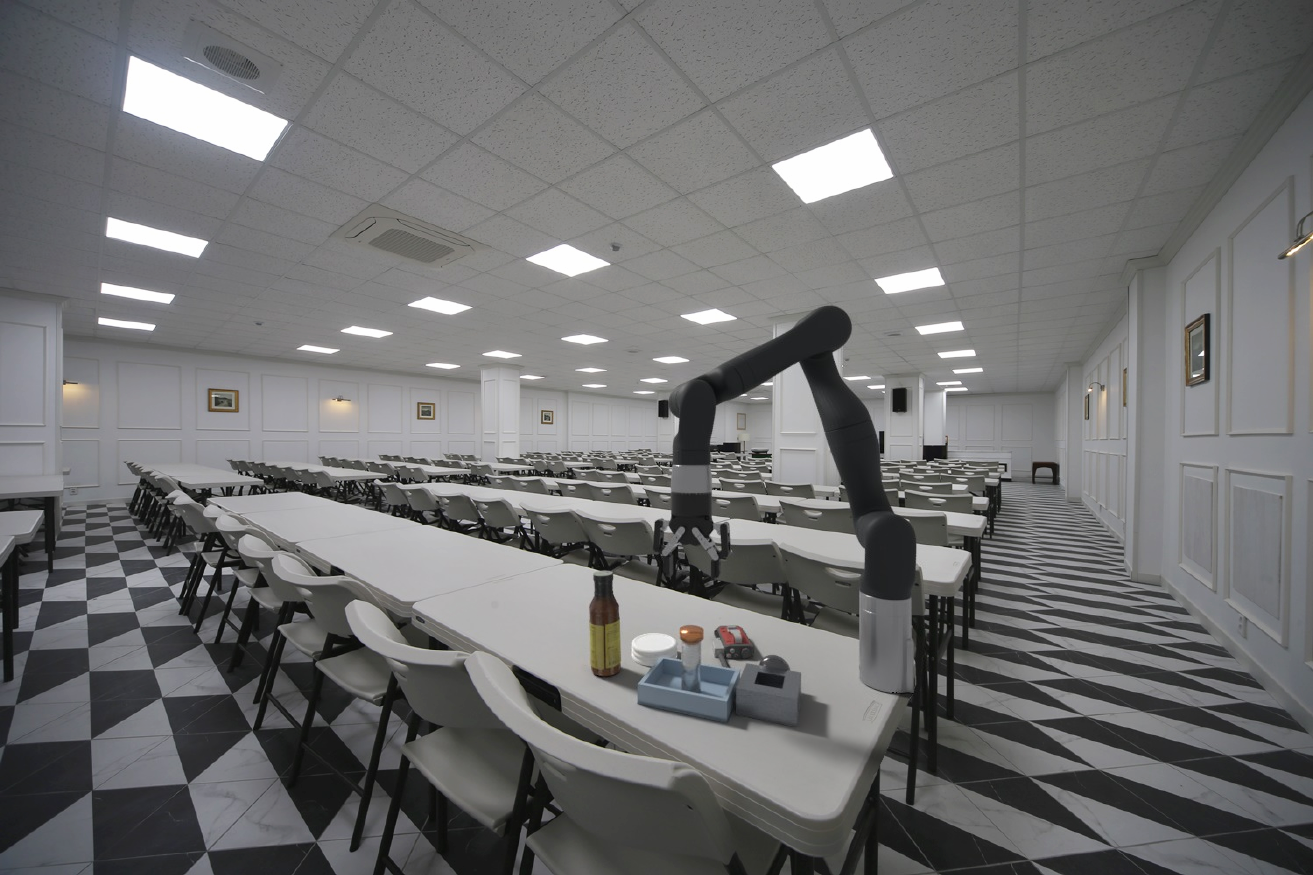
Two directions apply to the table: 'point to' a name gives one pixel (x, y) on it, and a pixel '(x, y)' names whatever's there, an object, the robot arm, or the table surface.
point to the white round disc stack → (653, 648)
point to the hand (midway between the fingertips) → (691, 577)
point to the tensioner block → (769, 692)
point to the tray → (666, 691)
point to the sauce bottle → (604, 627)
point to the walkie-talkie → (731, 644)
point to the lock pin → (691, 658)
